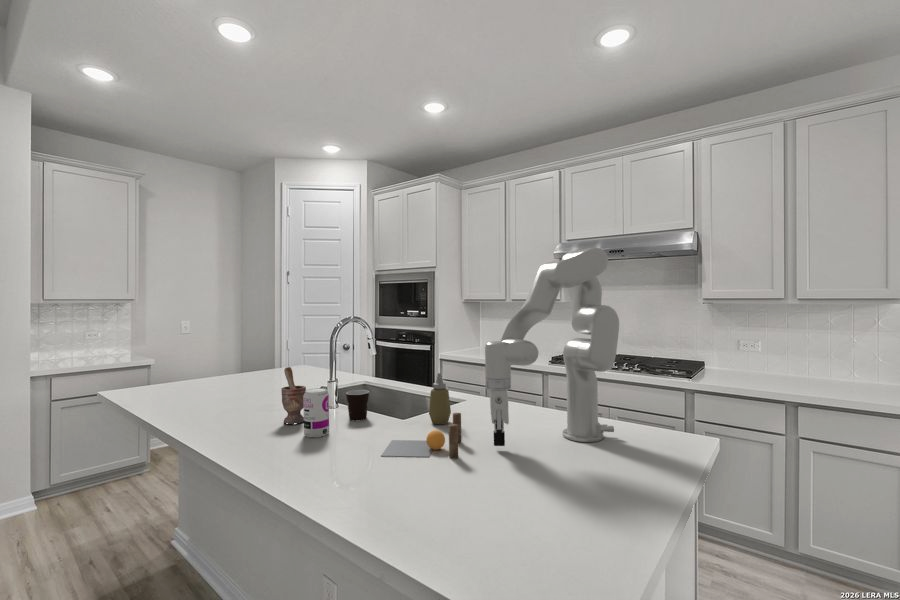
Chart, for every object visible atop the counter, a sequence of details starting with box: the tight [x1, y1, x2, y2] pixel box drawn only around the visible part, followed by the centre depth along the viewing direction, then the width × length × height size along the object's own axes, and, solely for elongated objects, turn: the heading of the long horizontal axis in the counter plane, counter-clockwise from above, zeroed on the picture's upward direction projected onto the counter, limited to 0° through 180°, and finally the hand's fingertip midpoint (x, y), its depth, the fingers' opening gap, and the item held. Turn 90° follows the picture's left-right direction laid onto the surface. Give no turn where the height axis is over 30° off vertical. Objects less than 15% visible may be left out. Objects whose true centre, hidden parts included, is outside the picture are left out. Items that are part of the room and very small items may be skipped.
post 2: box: [448, 423, 459, 460], centre depth 124 cm, size 3×3×9 cm
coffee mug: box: [345, 389, 370, 422], centre depth 168 cm, size 12×9×10 cm
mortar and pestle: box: [281, 366, 307, 424], centre depth 163 cm, size 12×9×20 cm
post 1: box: [452, 412, 462, 445], centre depth 136 cm, size 3×3×9 cm
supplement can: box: [303, 387, 330, 438], centre depth 147 cm, size 8×8×15 cm
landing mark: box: [380, 439, 433, 458], centre depth 131 cm, size 14×14×1 cm
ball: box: [425, 429, 446, 451], centre depth 130 cm, size 6×6×6 cm
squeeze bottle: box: [428, 372, 452, 425], centre depth 159 cm, size 8×8×18 cm
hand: (499, 444), depth 129 cm, fingers closed
